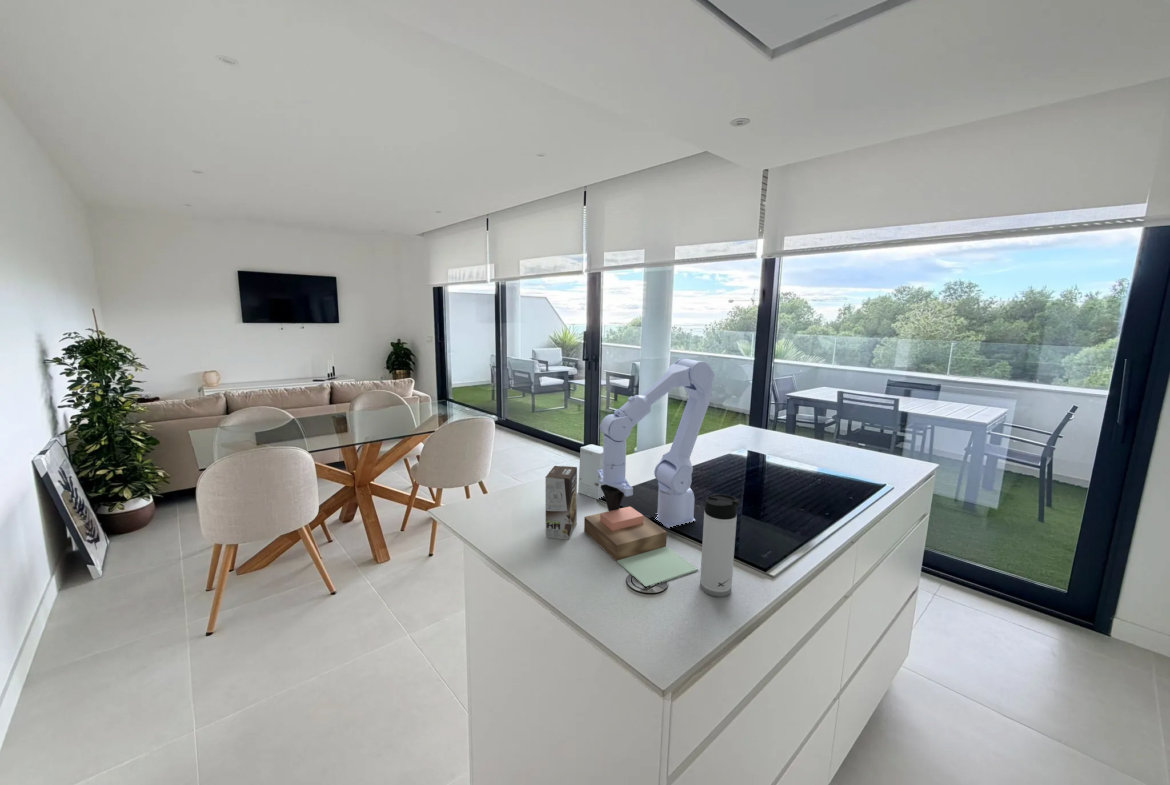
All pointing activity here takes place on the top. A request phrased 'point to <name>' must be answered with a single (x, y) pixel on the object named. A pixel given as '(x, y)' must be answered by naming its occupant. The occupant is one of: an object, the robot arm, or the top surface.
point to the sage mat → (657, 566)
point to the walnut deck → (625, 537)
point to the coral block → (621, 518)
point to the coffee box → (561, 502)
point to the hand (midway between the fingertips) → (613, 512)
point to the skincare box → (590, 471)
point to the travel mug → (718, 544)
